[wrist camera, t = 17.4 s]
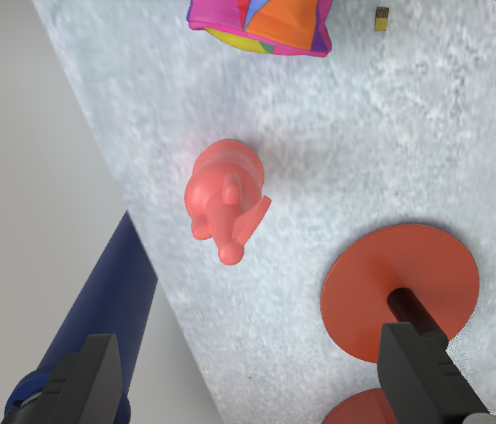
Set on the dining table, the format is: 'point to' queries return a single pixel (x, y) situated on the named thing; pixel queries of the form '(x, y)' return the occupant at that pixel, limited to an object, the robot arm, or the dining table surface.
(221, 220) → the figurine
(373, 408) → the pan
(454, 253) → the lid
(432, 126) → the dining table surface
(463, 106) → the dining table surface
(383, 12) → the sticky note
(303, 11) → the pencil case
